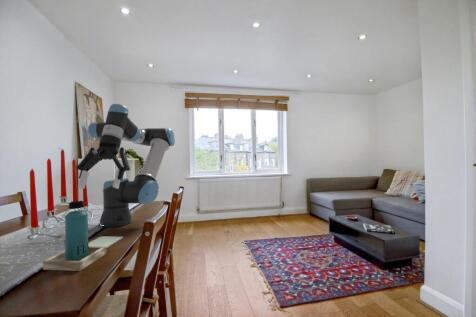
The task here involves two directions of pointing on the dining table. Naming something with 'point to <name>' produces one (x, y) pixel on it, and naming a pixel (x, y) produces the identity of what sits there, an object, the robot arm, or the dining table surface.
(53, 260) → the wooden collar
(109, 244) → the rubber mat
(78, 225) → the beverage bottle
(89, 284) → the dining table surface
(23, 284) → the dining table surface
